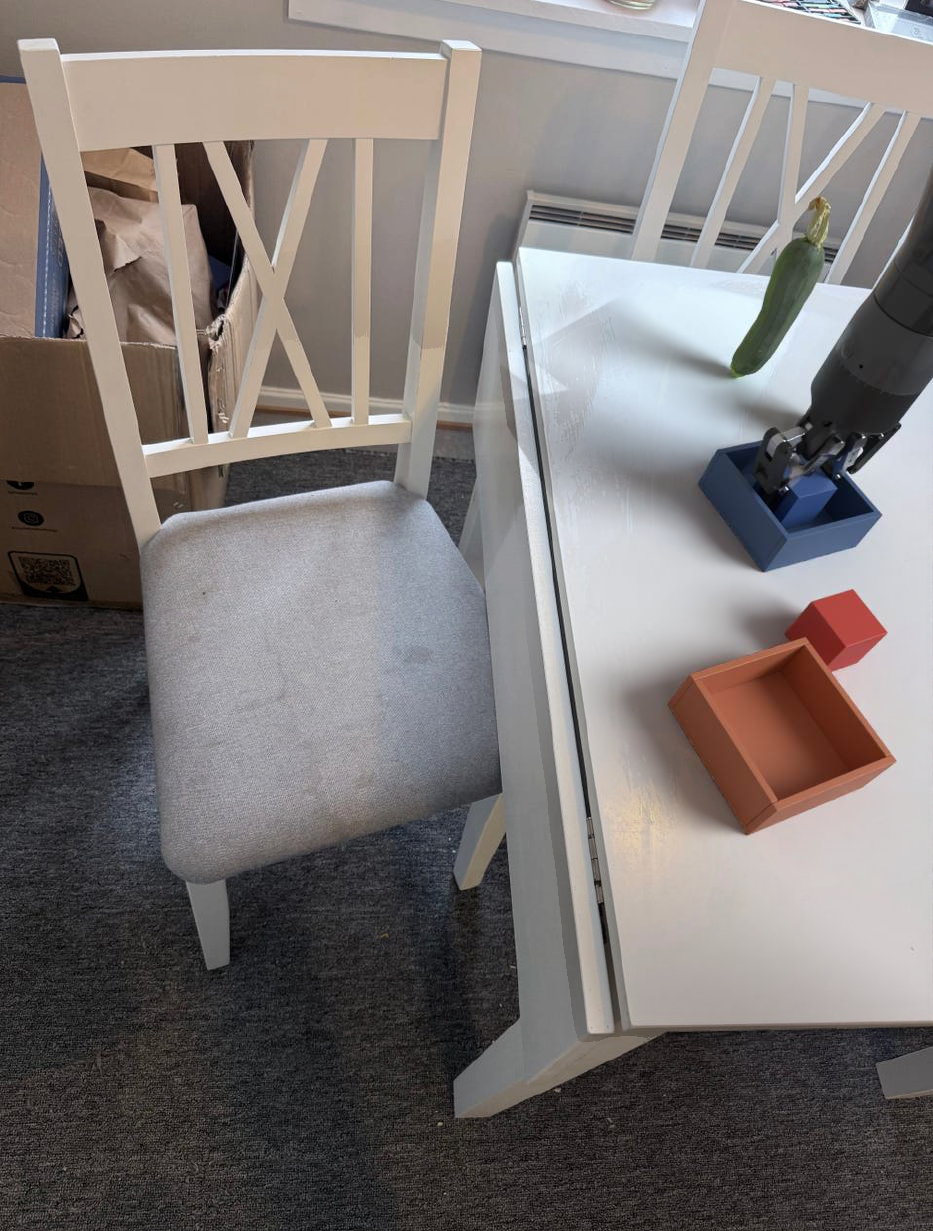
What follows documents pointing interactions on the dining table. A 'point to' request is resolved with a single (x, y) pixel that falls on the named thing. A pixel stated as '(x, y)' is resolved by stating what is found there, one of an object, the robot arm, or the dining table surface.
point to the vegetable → (785, 293)
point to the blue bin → (762, 531)
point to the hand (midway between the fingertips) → (781, 507)
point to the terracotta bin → (778, 733)
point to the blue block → (803, 498)
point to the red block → (838, 629)
